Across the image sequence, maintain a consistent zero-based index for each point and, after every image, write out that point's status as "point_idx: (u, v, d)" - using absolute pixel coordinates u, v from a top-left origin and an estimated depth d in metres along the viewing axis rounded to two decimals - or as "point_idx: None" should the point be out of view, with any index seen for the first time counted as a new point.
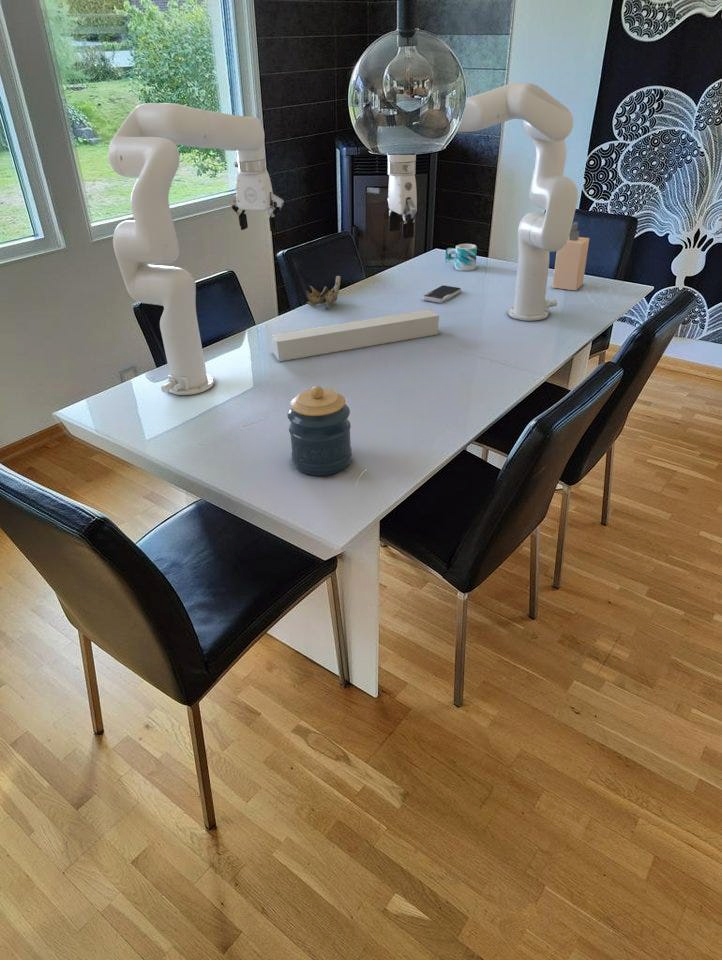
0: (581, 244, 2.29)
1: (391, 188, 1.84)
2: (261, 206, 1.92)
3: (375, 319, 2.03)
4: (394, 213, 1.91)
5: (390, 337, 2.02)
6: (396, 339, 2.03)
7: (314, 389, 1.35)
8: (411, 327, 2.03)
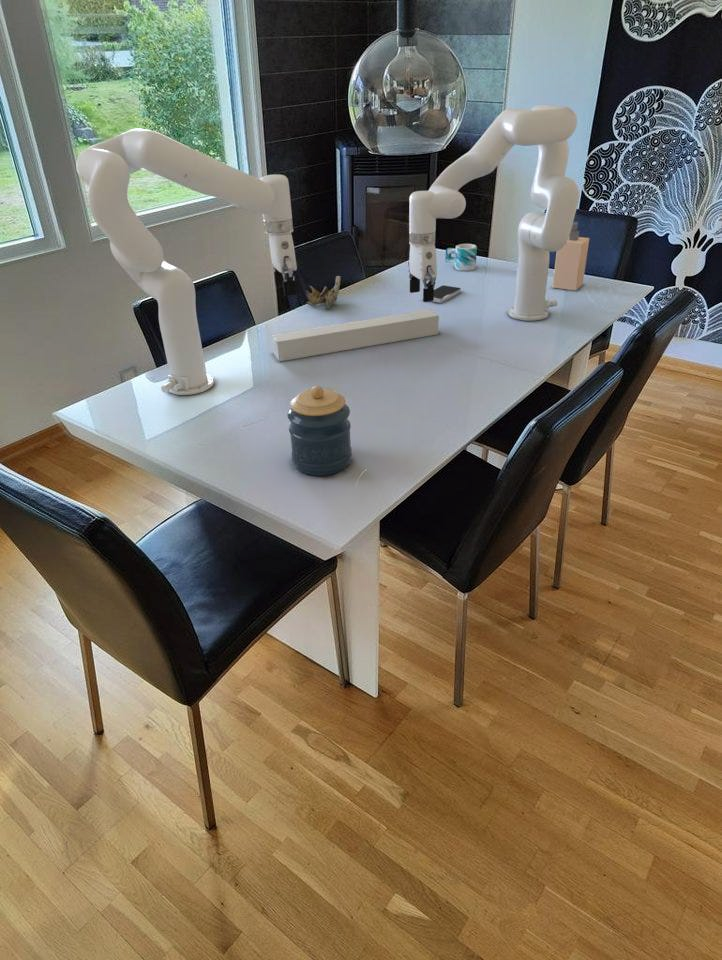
0: (581, 244, 2.29)
1: (412, 255, 1.96)
2: None
3: (375, 319, 2.03)
4: (414, 276, 2.03)
5: (390, 337, 2.02)
6: (396, 339, 2.03)
7: (314, 389, 1.35)
8: (411, 327, 2.03)
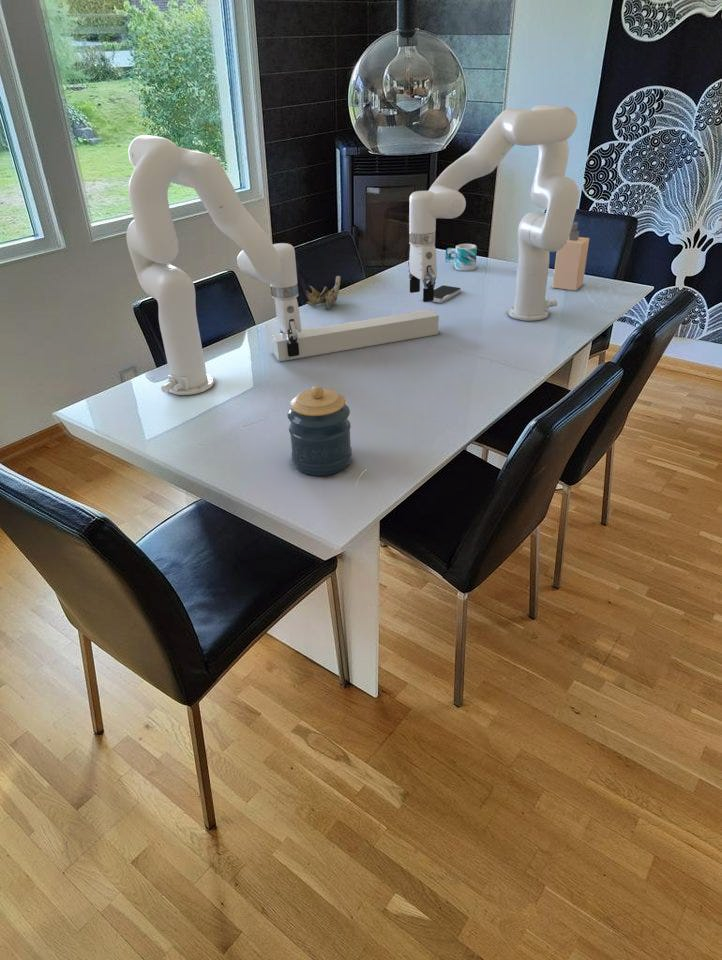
0: (581, 244, 2.29)
1: (412, 255, 1.96)
2: None
3: (375, 319, 2.03)
4: (414, 276, 2.03)
5: (390, 337, 2.02)
6: (396, 339, 2.03)
7: (314, 389, 1.35)
8: (411, 327, 2.03)
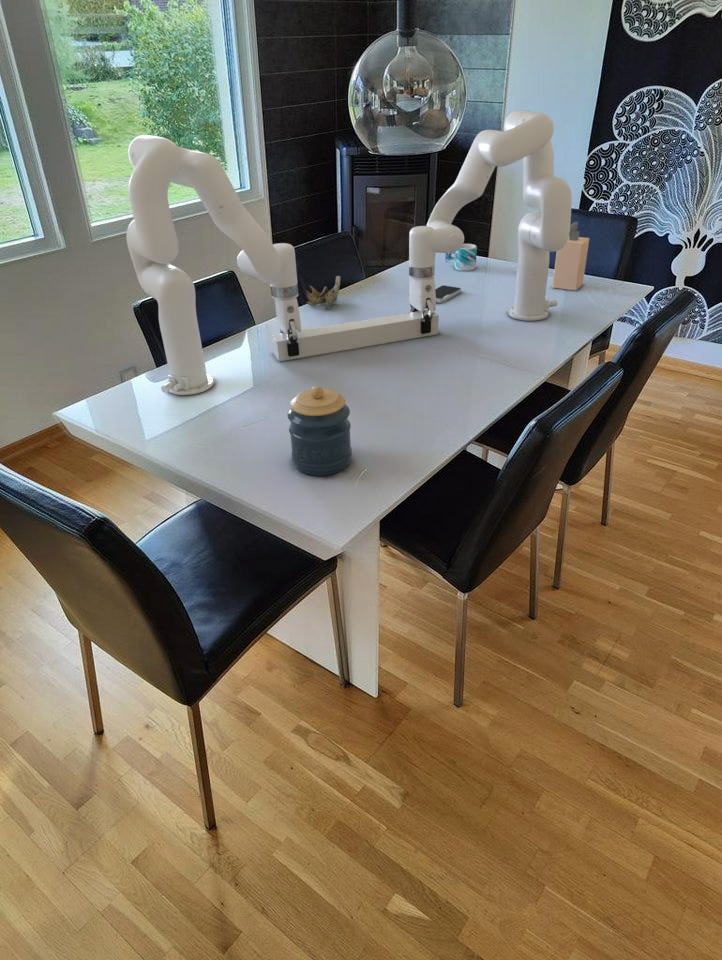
0: (581, 244, 2.29)
1: (412, 288, 2.01)
2: None
3: (375, 319, 2.03)
4: (416, 310, 2.08)
5: (390, 337, 2.02)
6: (396, 339, 2.03)
7: (314, 389, 1.35)
8: (411, 327, 2.03)
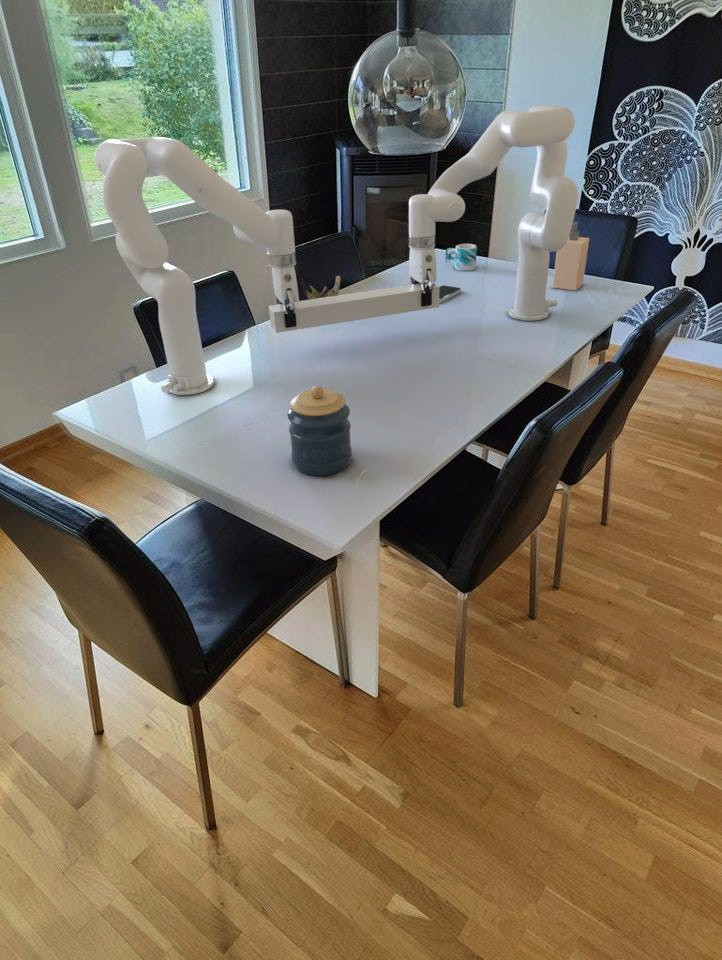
0: (581, 244, 2.29)
1: (412, 259, 1.96)
2: None
3: (374, 291, 1.98)
4: (416, 282, 2.03)
5: (390, 310, 1.97)
6: (396, 311, 1.98)
7: (314, 389, 1.35)
8: (411, 300, 1.98)
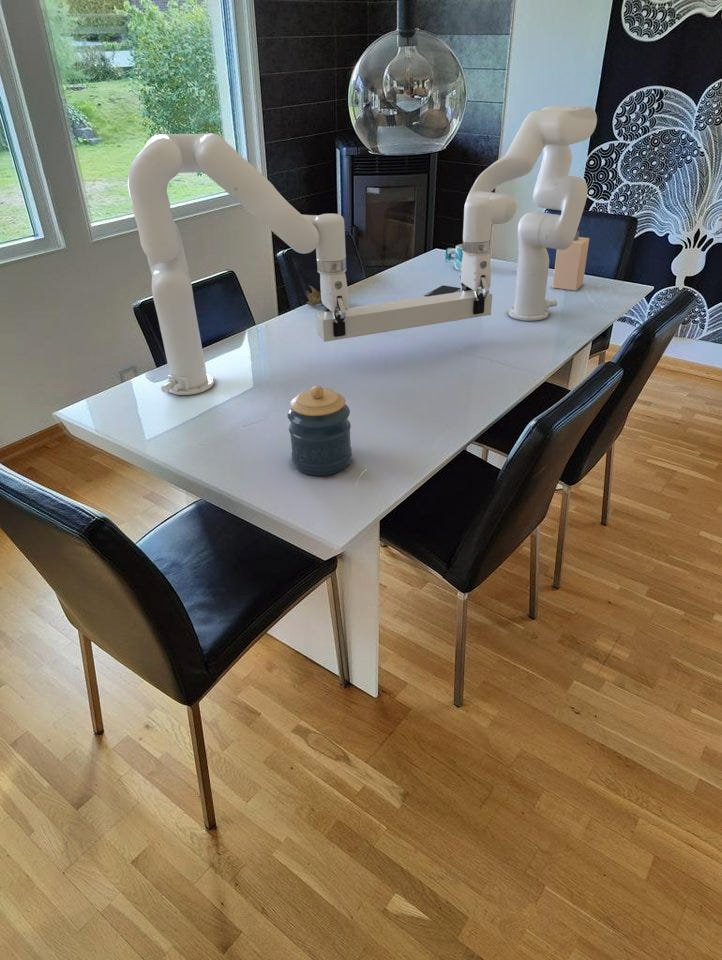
0: (581, 244, 2.29)
1: (465, 264, 1.88)
2: None
3: (425, 298, 1.90)
4: (467, 289, 1.95)
5: (441, 318, 1.89)
6: (447, 319, 1.90)
7: (314, 389, 1.35)
8: (463, 307, 1.90)
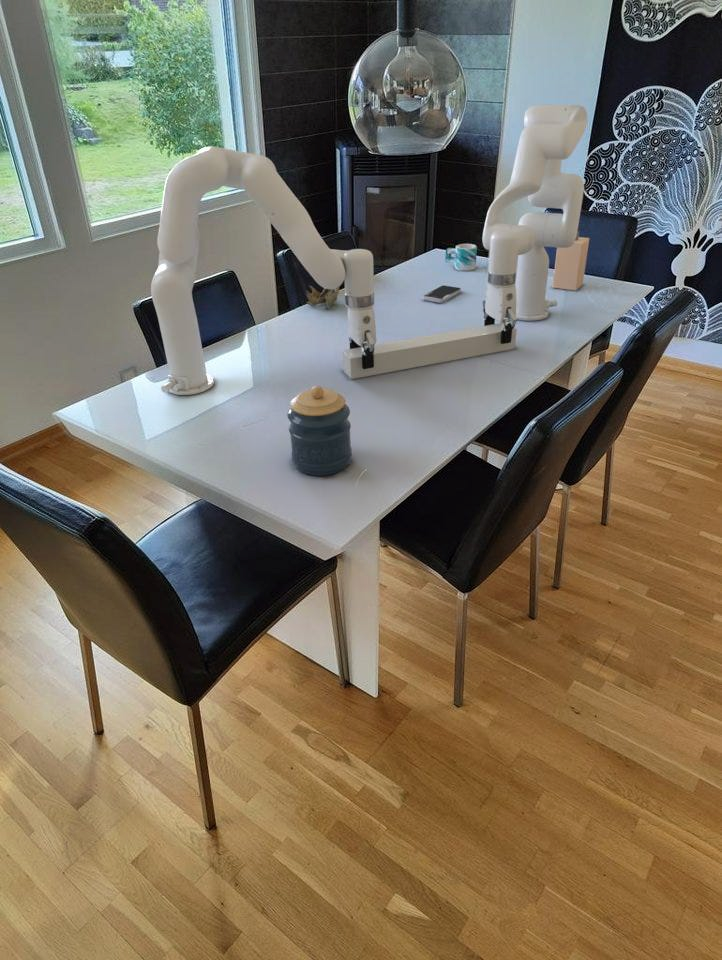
0: (581, 244, 2.29)
1: (490, 296, 1.88)
2: None
3: (449, 333, 1.91)
4: (490, 316, 1.96)
5: (466, 353, 1.90)
6: (472, 354, 1.91)
7: (314, 389, 1.35)
8: (488, 342, 1.91)
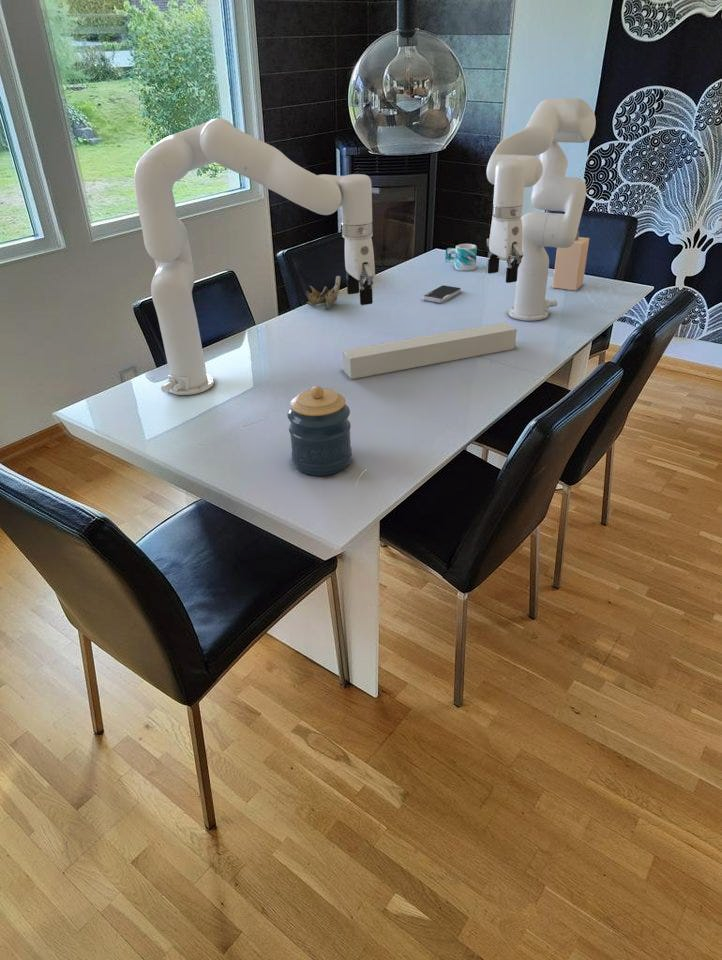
0: (581, 244, 2.29)
1: (495, 232, 1.79)
2: None
3: (449, 333, 1.91)
4: (494, 255, 1.86)
5: (466, 353, 1.90)
6: (472, 354, 1.91)
7: (314, 389, 1.35)
8: (488, 342, 1.91)
